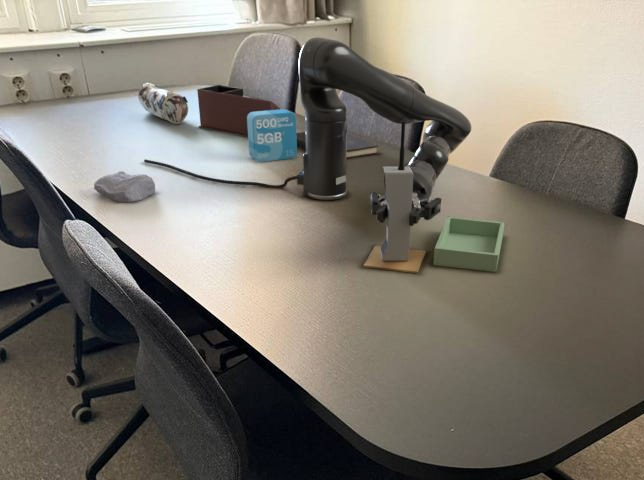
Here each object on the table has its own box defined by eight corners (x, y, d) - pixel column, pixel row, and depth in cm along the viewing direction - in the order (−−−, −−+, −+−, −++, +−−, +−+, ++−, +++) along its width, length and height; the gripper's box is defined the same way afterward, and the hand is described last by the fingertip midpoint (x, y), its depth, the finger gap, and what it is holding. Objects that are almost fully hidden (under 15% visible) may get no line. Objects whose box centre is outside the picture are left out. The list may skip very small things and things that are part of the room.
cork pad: (363, 267, 129) (363, 265, 129) (375, 247, 138) (375, 245, 137) (417, 273, 127) (417, 271, 127) (426, 252, 136) (426, 250, 136)
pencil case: (191, 122, 221) (188, 89, 216) (166, 126, 217) (162, 92, 212) (162, 109, 236) (159, 78, 231) (138, 112, 232) (133, 81, 226)
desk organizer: (221, 121, 224) (218, 83, 218) (295, 135, 211) (294, 96, 205) (198, 127, 216) (194, 88, 210) (273, 142, 203) (271, 101, 197)
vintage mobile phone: (380, 253, 134) (384, 118, 120) (406, 253, 134) (413, 118, 121) (381, 261, 130) (386, 123, 117) (408, 261, 131) (416, 123, 118)
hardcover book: (333, 135, 211) (333, 127, 210) (378, 153, 195) (378, 145, 194) (286, 142, 203) (286, 134, 202) (329, 161, 188) (329, 153, 186)
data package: (255, 162, 185) (252, 115, 179) (249, 158, 188) (246, 112, 182) (297, 158, 190) (296, 111, 184) (291, 153, 193) (289, 108, 187)
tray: (433, 264, 131) (434, 248, 129) (446, 231, 146) (447, 216, 144) (496, 272, 129) (498, 255, 127) (502, 237, 144) (504, 222, 142)
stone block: (132, 211, 156) (160, 190, 163) (125, 192, 153) (154, 171, 160) (92, 204, 161) (120, 184, 167) (84, 185, 157) (113, 165, 164)
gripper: (446, 211, 140) (434, 243, 126) (376, 205, 143) (356, 235, 129) (449, 174, 137) (437, 202, 122) (377, 168, 139) (357, 194, 125)
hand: (395, 219), depth 126 cm, fingers closed on vintage mobile phone, 4 cm apart
